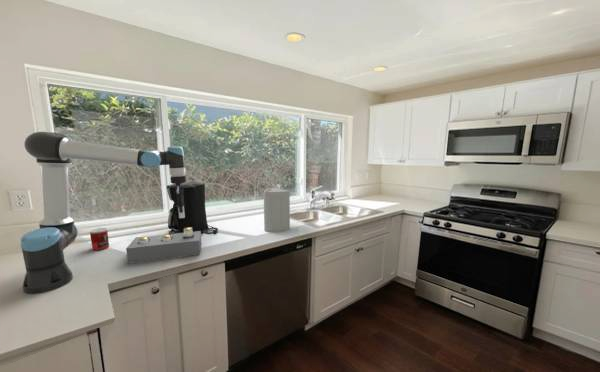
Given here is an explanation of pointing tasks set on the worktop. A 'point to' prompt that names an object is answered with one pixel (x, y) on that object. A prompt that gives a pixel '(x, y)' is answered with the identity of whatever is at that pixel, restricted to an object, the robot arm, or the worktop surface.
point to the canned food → (99, 239)
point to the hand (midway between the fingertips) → (182, 217)
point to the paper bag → (276, 210)
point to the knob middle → (166, 237)
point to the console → (164, 247)
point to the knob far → (188, 232)
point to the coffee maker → (189, 209)
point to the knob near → (144, 239)
